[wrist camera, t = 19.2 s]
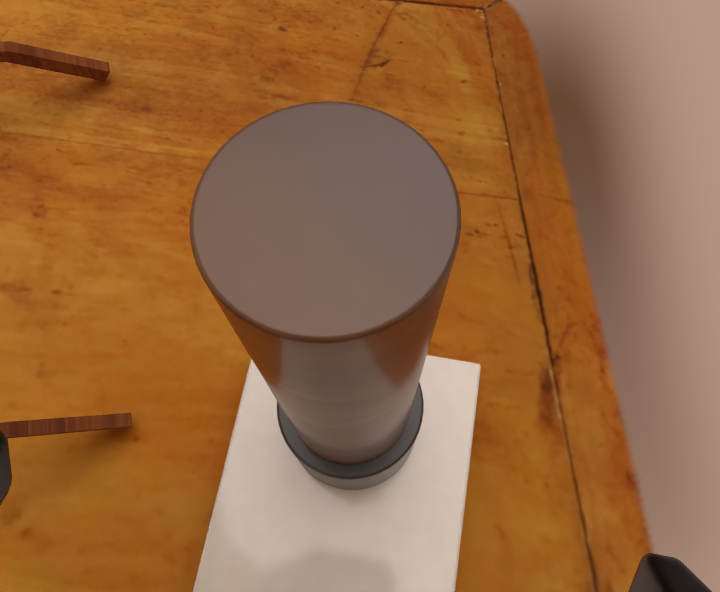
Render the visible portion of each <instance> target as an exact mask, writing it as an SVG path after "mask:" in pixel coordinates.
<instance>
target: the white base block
mask: <svg viewBox="0 0 720 592" xmlns="http://www.w3.org/2000/svg"><path fill="white" fill-rule="evenodd" d="M480 372H481V365H480V364H478V363H472V362H467V361H461V360H455V359H449V358H443V357H437V356H431V355H426V359H425V362H424V366H423V369H422V373H421V376H420V380H419V382H420V385H421V389H422V393H423V401H424V412H423V419H422V424H421V427H420V431H419V433H418V436H417V438H416V441H415V443H414V446H413V448H412V450H411V453H410V455H409V457H408V458H407V460H406V462H405V463H404V464H403V466H402V467H401V468H400V469H399V470H398V471H397V472H396V473H395V474H394V475H393V476H392V477H390V478H389V479H388V480H386V481H384V482H382V483H380V484H378V485H376V486H373V487H370V488H366V489H361V490H344V489H339V488H335V487H332V486H329V485H327V484H324V483H322V482H321V481H319V480H318V479H316V478H315V477H313V476H312V475H311V474H310V473H309V472H308V471H307V470H306V469H305V468H304V467H303V466H302V464H301V463H300V462H299V461H298V459H297V458H296V457H295V455H294V454H293V453H292V451H291V450H290V448H289V447H288V445H287V444H286V442H285V440H284V438H283V436H282V434H281V430H280V427H279V424H278V418H277V400H276V398H275V396H274V395H273V393H272V392H271V390H270V388H269V387H268V385H267V383H266V382H265V380H264V378H263V377H262V375H261V373H260V372H259V370H258V368H257V367H256V365H255V364H254V362H253V360H252V359H251V360H250V364H249V368H248V372H247V376H246V380H245V384H244V388H243V392H242V396H241V400H240V404H239V408H238V412H237V416H236V420H235V424H234V428H233V432H232V436H231V440H230V444H229V448H228V452H227V456H226V460H225V464H224V468H223V472H222V476H221V480H220V484H219V488H218V492H217V496H216V500H215V504H214V508H213V512H212V516H211V520H210V524H209V528H208V532H207V536H206V540H205V544H204V548H203V552H202V556H201V560H200V563H199V567H198V571H197V575H196V579H195V583H194V587H193V591H192V592H455V588H456V579H457V571H458V562H459V553H460V545H461V536H462V527H463V519H464V510H465V502H466V493H467V484H468V476H469V467H470V458H471V450H472V441H473V432H474V424H475V415H476V406H477V398H478V389H479V381H480Z"/></svg>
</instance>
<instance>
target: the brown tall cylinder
mask: <svg viewBox="0 0 720 592" xmlns="http://www.w3.org/2000/svg"><path fill="white" fill-rule="evenodd" d="M460 231H461V208H460V202H459V196H458V192H457V189H456V186H455V183H454V180H453V178H452V176H451V174H450V172H449V170H448V168H447V166H446V164H445V163H444V161H443V160H442V158H441V157H440V155H439V154H438V152H437V151H436V150H435V149H434V148H433V146H432V145H431V144H430V143H429V142H428V141H427V140H426V139H425V138H424V137H423V136H422V135H421V134H419V133H418V132H417V131H416V130H415V129H413V128H412V127H410V126H409V125H407V124H406V123H404V122H403V121H401V120H399V119H397V118H395V117H393V116H391V115H389V114H387V113H385V112H382V111H379V110H377V109H374V108H370V107H366V106H362V105H358V104H352V103H345V102H313V103H305V104H300V105H295V106H290V107H287V108H284V109H281V110H277V111H275V112H272V113H270V114H268V115H265V116H263V117H261V118H259V119H257V120H256V121H254V122H252V123H250V124H249V125H247V126H246V127H244V128H243V129H242V130H240V131H239V132H237V133H236V134H235V135H234V136H233V137H231V138H230V139H229V140H228V141H227V142H226V143H225V144H224V145H223V146H222V147H221V148H220V149H219V151H218V152H217V153H216V154H215V155H214V157H213V158H212V159H211V161H210V163H209V164H208V166H207V167H206V169H205V170H204V172H203V174H202V177H201V179H200V181H199V183H198V185H197V188H196V191H195V195H194V198H193V201H192V207H191V213H190V239H191V246H192V251H193V255H194V258H195V261H196V265H197V267H198V269H199V271H200V273H201V275H202V277H203V279H204V281H205V283H206V284H207V286H208V288H209V289H210V291H211V293H212V294H213V296H214V298H215V299H216V301H217V303H218V304H219V306H220V307H221V309H222V311H223V312H224V314H225V316H226V317H227V319H228V321H229V322H230V324H231V326H232V327H233V329H234V331H235V332H236V334H237V335H238V337H239V339H240V340H241V342H242V344H243V345H244V347H245V349H246V350H247V352H248V354H249V355H250V357H251V359H252V360H253V362H254V364H255V365H256V367H257V368H258V370H259V372H260V373H261V375H262V377H263V378H264V380H265V382H266V383H267V385H268V387H269V388H270V390H271V392H272V393H273V395H274V396H275V398H276V400H277V418H278V424H279V427H280V430H281V434H282V436H283V438H284V440H285V442H286V444H287V445H288V447H289V448H290V450H291V451H292V453H293V454H294V455H295V457H296V458H297V459H298V461H299V462H300V463H301V464H302V466H303V467H304V468H305V469H306V470H307V471H308V472H309V473H310V474H311V475H312V476H313V477H315V478H316V479H318V480H319V481H321V482H322V483H324V484H327V485H329V486H332V487H335V488H339V489H344V490H361V489H366V488H370V487H373V486H376V485H378V484H380V483H382V482H384V481H386V480H388V479H389V478H390V477H392V476H393V475H394V474H395V473H396V472H397V471H398V470H399V469H400V468H401V467H402V466H403V464H404V463H405V462H406V460H407V458H408V457H409V455H410V453H411V450H412V448H413V446H414V443H415V441H416V438H417V436H418V433H419V431H420V427H421V424H422V419H423V412H424V401H423V393H422V389H421V385H420V382H419V380H420V376H421V373H422V369H423V366H424V362H425V359H426V355H427V352H428V348H429V345H430V341H431V338H432V334H433V331H434V328H435V324H436V321H437V317H438V314H439V310H440V307H441V303H442V300H443V296H444V293H445V289H446V286H447V282H448V279H449V275H450V272H451V268H452V265H453V261H454V258H455V254H456V251H457V247H458V244H459V238H460Z"/></svg>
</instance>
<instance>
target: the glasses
mask: <svg viewBox="0 0 720 592" xmlns="http://www.w3.org/2000/svg"><path fill="white" fill-rule="evenodd" d="M0 62H9V63H15V64H20V65H25V66H30V67H35V68H40V69H45V70H50V71H55V72H60V73H65V74H71V75H76V76H81V77H86V78H91V79H96V80H101V81H105V79H106V78H107V76H108V74H109V72H110V69H109V63H108V62H103V61H98V60H93V59H89V58H84V57H79V56H75V55H70V54H65V53H61V52H56V51H51V50H47V49H42V48H37V47H33V46H28V45H23V44H19V43H14V42H0ZM129 426H132V425H131V413H123V414H109V415H96V416H82V417H69V418H55V419H42V420H28V421H15V422H4V423H0V431H2V432H3V433H4V434H5V435H6V437H7V438H17V437H28V436H39V435H51V434H62V433H73V432H84V431H95V430H106V429H117V428H125V427H129Z"/></svg>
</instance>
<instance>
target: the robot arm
mask: <svg viewBox="0 0 720 592" xmlns="http://www.w3.org/2000/svg"><path fill="white" fill-rule="evenodd" d="M11 480H12V473H11V465H10V456H9V448H8V440H7V437H6V435H5V434H4V433H3V432H2V431H0V505H1V503H2V502H3V500H4V498H5V497H6V495H7V493H8V491H9V489H10V485H11ZM629 592H712V591H711V590H710V589H708V588H707V586H706V585H705V584H704V583H703V582H702V581H701V580H700V579H698V578H697V577H696V576H695V575H694V574H693V573H692V572H691V571H690V570H689V569H688V568H687V567H686V566H685V565H684V564H683V563H682V562H681V561H680V560H678V559H676V558H673V557H668V556H663V555H658V554H652V553H649V554H646V555H644V556H643V557H642V559H641V561H640V563H639V566H638V568H637V571H636V573H635V576H634V579H633V581H632V584H631V586H630V589H629Z"/></svg>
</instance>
